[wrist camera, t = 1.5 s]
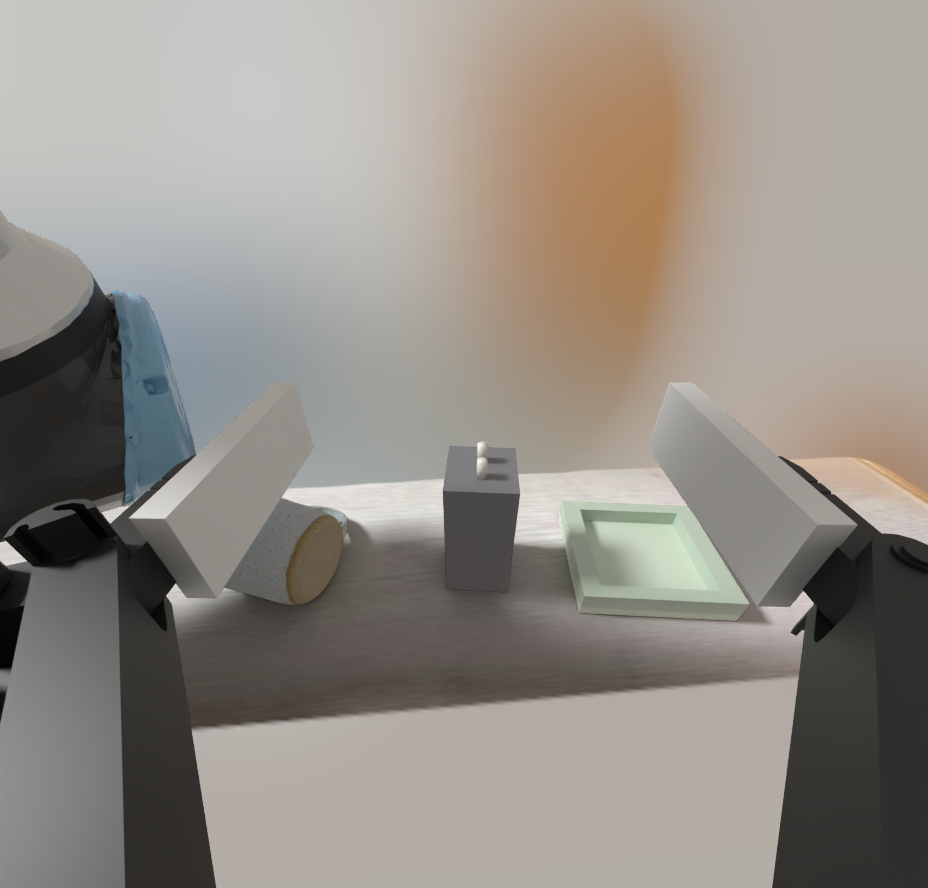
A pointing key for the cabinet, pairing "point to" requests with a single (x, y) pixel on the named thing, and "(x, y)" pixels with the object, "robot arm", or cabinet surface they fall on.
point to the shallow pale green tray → (646, 563)
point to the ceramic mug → (292, 554)
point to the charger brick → (480, 517)
